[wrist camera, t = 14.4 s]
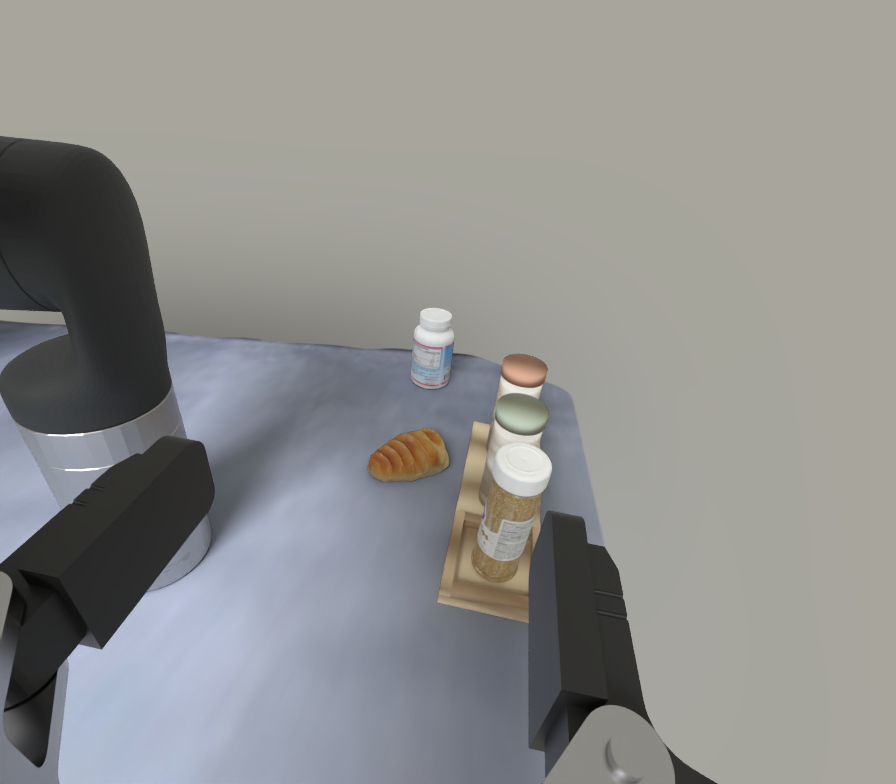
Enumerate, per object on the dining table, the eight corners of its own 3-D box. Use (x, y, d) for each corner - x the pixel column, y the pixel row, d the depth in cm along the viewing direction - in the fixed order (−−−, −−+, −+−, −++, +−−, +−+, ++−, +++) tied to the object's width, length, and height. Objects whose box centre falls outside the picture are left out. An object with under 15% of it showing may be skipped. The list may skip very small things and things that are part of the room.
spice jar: (468, 543, 45) (492, 438, 37) (513, 544, 45) (545, 441, 38) (473, 585, 41) (500, 477, 33) (522, 586, 41) (560, 480, 34)
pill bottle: (434, 366, 75) (442, 303, 68) (456, 385, 71) (466, 319, 64) (402, 374, 71) (407, 308, 65) (423, 394, 67) (430, 326, 61)
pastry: (383, 498, 50) (384, 473, 48) (357, 461, 54) (357, 436, 52) (453, 470, 55) (456, 446, 53) (423, 438, 59) (426, 415, 57)
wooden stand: (537, 625, 40) (580, 522, 32) (437, 602, 40) (456, 496, 33) (538, 441, 61) (563, 353, 54) (472, 428, 62) (489, 340, 54)
